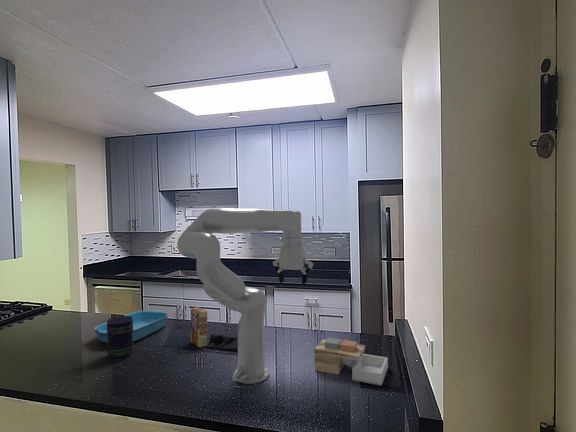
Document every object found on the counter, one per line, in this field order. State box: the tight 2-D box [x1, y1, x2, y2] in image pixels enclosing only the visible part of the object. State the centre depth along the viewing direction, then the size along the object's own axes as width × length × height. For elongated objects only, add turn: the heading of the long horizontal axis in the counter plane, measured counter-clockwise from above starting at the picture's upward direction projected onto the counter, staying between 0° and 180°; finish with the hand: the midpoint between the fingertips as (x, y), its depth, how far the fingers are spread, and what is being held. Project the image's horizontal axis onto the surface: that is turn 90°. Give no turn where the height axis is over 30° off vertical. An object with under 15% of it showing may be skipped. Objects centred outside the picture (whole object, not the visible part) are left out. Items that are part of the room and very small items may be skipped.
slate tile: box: [325, 337, 342, 350], centre depth 130 cm, size 5×5×2 cm
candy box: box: [190, 307, 208, 348], centre depth 155 cm, size 9×4×15 cm, turn 39°
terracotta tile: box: [340, 339, 358, 352], centre depth 128 cm, size 5×5×2 cm
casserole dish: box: [94, 309, 169, 344], centre depth 169 cm, size 37×22×7 cm, turn 163°
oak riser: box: [313, 338, 366, 375], centre depth 129 cm, size 11×16×8 cm, turn 66°
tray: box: [351, 353, 389, 386], centre depth 125 cm, size 14×10×4 cm
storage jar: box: [106, 315, 134, 361], centre depth 143 cm, size 10×10×15 cm
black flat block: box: [205, 333, 238, 352], centre depth 153 cm, size 15×22×5 cm
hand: (292, 283), depth 141 cm, fingers open, 9 cm apart
